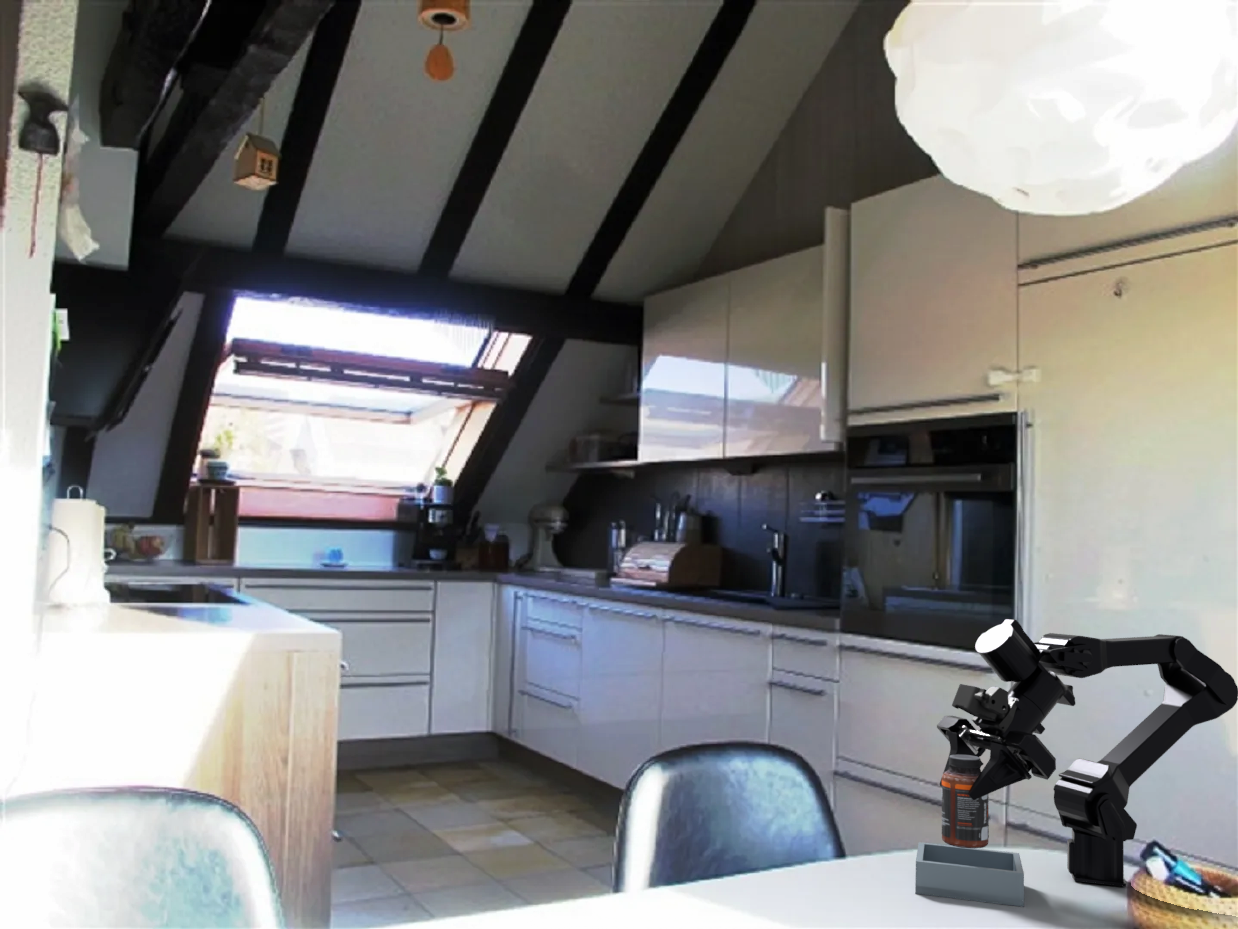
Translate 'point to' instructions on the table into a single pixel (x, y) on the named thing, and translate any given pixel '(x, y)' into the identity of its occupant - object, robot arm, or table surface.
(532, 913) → the table surface
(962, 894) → the tote
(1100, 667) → the robot arm
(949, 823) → the supplement bottle
